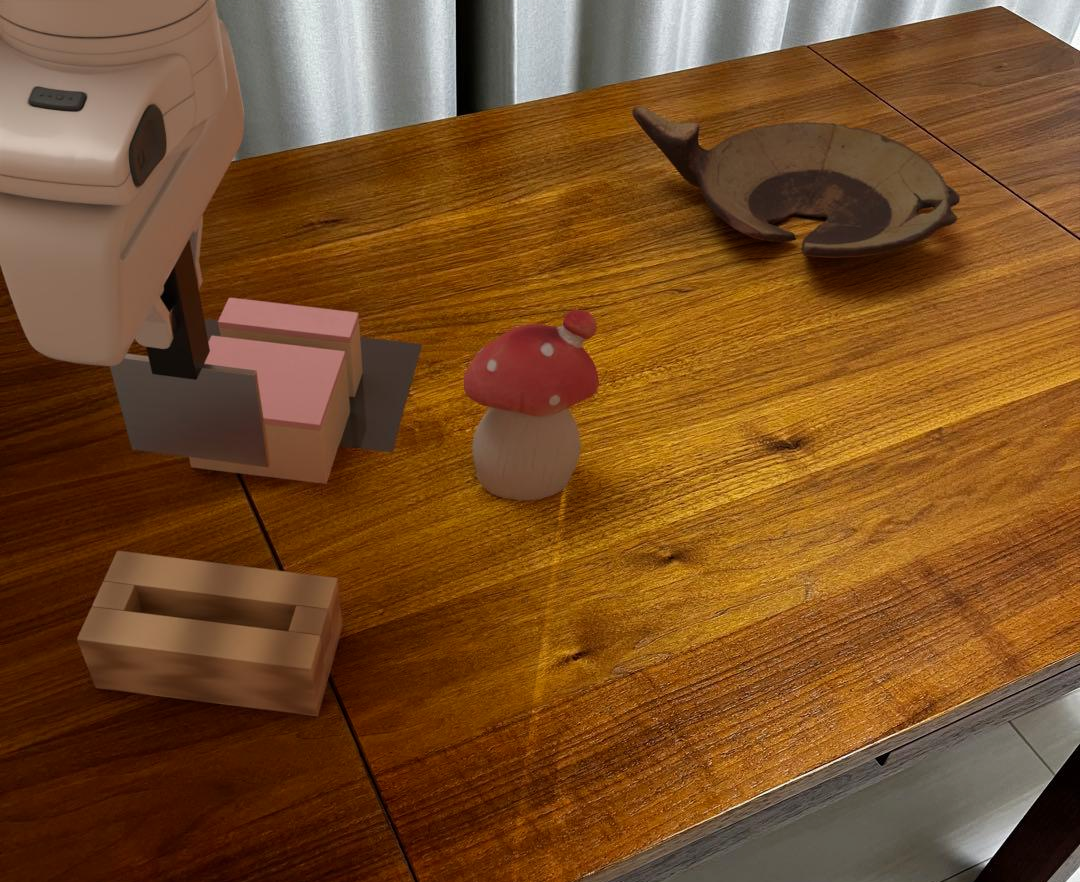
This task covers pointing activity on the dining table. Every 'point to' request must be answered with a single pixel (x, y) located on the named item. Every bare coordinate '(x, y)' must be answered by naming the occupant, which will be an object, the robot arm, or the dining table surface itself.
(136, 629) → the knife block
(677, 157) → the broken brown bowl
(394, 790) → the dining table surface
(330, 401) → the cake
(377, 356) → the cake board
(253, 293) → the dining table surface
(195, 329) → the knife
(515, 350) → the decorative ornament
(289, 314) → the cake slice
